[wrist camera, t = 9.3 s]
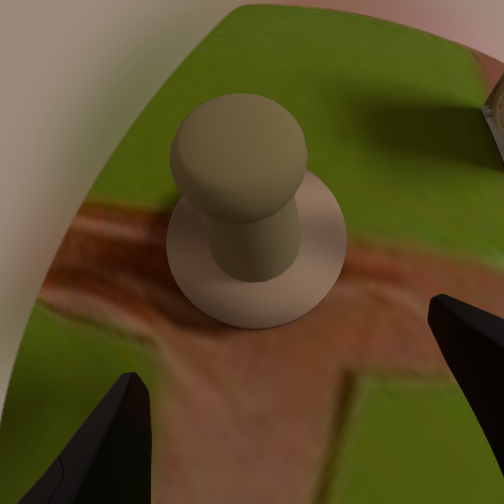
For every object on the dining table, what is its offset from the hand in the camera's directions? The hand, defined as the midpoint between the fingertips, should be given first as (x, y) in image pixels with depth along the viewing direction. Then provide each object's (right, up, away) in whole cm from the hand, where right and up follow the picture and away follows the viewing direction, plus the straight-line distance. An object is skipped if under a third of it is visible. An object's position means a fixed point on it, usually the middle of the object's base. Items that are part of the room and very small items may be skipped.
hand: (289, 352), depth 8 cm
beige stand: (-1, +3, +15) cm, 15 cm away
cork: (-1, +4, +12) cm, 13 cm away
